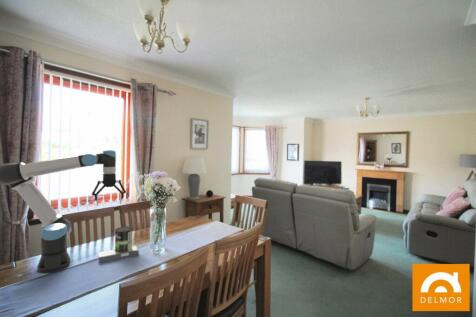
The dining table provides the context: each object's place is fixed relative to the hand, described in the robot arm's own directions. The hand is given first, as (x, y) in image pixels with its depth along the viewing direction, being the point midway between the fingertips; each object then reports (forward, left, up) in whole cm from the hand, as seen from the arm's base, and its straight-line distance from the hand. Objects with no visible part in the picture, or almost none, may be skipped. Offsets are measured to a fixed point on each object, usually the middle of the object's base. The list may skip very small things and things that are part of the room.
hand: (109, 204), depth 160 cm
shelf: (+5, -12, -31) cm, 33 cm away
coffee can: (+8, -12, -29) cm, 32 cm away
